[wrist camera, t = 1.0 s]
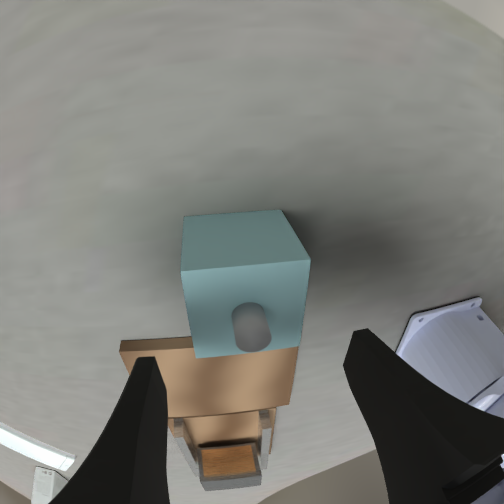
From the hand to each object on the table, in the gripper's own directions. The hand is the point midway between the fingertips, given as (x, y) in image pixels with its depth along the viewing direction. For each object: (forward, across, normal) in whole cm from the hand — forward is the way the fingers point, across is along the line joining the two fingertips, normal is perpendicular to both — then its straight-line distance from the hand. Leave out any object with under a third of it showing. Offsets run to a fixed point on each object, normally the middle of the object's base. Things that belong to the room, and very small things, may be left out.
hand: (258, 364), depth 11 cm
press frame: (+8, +2, +17) cm, 19 cm away
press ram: (+6, +2, +24) cm, 25 cm away
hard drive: (+8, +30, +28) cm, 42 cm away
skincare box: (+8, +34, +41) cm, 54 cm away
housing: (+8, 0, 0) cm, 8 cm away
